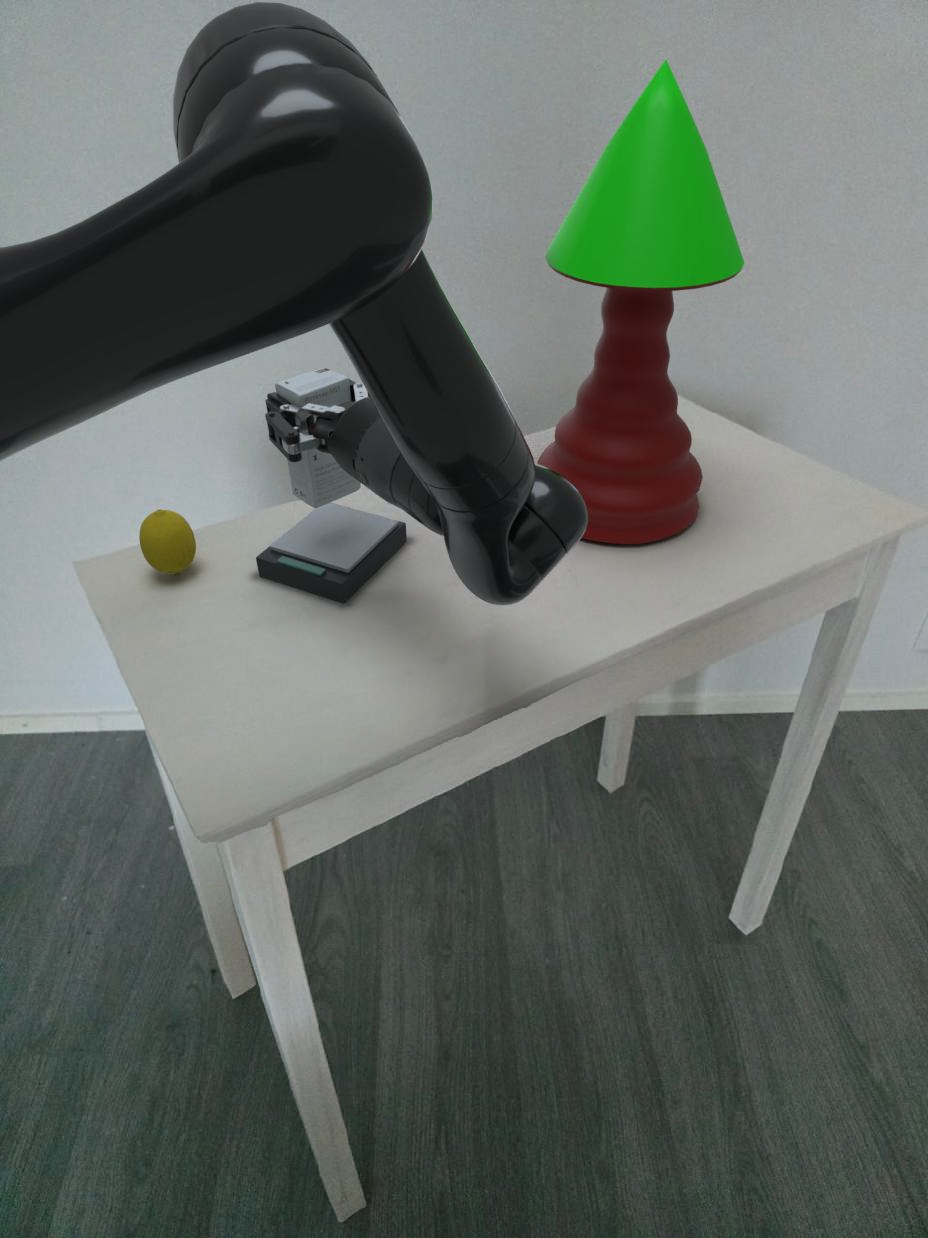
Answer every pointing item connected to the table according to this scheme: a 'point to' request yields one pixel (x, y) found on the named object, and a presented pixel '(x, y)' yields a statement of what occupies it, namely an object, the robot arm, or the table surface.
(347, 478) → the cosmetic box
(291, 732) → the table surface
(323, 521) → the scale
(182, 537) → the lemon
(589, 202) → the table lamp
